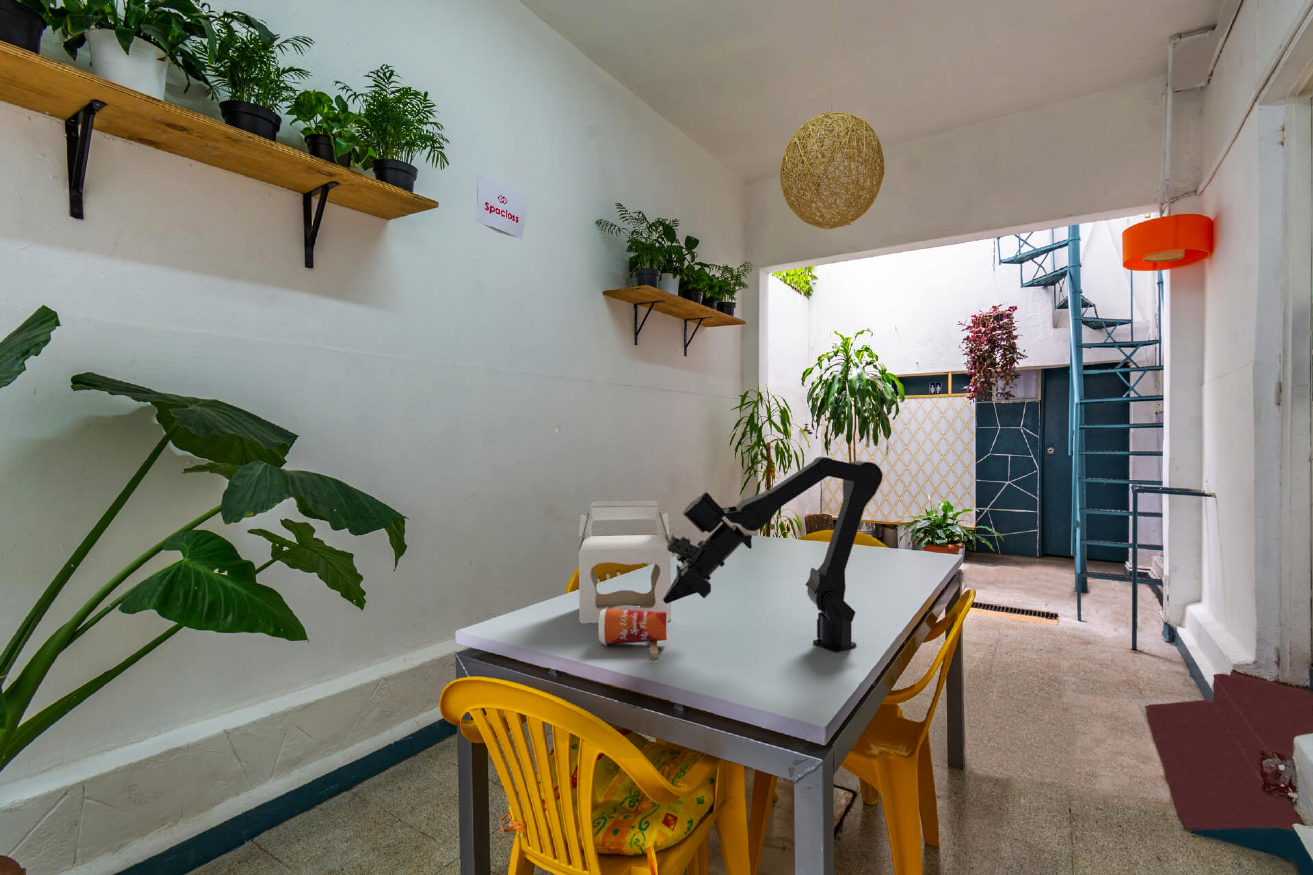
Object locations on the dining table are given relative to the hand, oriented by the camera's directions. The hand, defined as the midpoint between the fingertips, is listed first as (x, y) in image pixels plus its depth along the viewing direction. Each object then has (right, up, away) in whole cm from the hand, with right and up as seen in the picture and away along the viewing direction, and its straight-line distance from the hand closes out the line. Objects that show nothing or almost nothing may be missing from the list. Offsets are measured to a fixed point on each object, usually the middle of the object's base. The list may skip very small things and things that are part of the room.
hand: (664, 601), depth 125 cm
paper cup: (+1, -5, +1) cm, 5 cm away
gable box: (-9, -10, +23) cm, 27 cm away
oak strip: (-2, -10, 0) cm, 10 cm away
